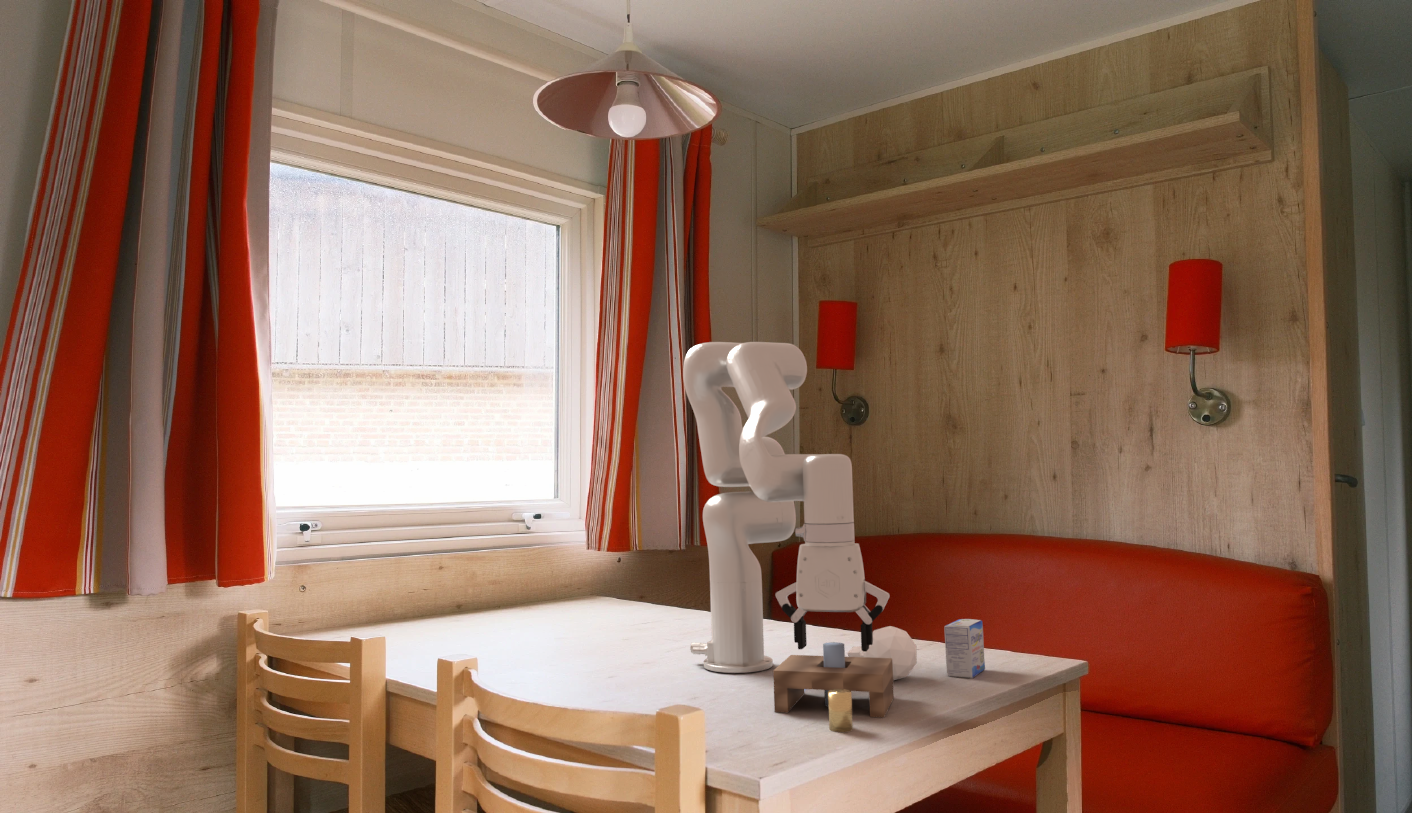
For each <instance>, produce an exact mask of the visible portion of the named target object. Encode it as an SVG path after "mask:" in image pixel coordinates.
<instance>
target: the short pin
mask: <svg viewBox="0 0 1412 813" xmlns="http://www.w3.org/2000/svg"><path fill="white" fill-rule="evenodd" d="M852 692H853V691H850V690H845V689H834V690H829V691H828V706H827V708H828V728H829V731H830V732H834V733H848V732H852V731H853V729H854V727H853V726H854V725H853V720H854V719H853V698H852V697H853V696H852V695H853V694H852Z"/></svg>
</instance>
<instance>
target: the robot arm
mask: <svg viewBox="0 0 1412 813" xmlns="http://www.w3.org/2000/svg"><path fill="white" fill-rule="evenodd" d="M682 367H683V370H682V378H683V384H684V389H685V393H686V396H687V399H688V401H689V403H690V405H691V409H692V410H693V411H692V412H693V413H694V417H695V421H696V426H697V434H698V439H699V440H698V441H699V447H700V452H701V460H702V466H703V472H704V475H705V478H706V480H707V481H708V483H709V484H711V485H713V486H716V487H719V488H720V487H721V488H723V487H724V488H736V487H737V488H739V487H740V488H742V487H743V488H744V487H749V488H750V489H751V491H732V492H730V491H729V492H722V493H718V494H715V495H713V496H712V497H710V498H708V500H707V501H706V503H705V504H704V507H703V510H702V522H703V524H702V525H703V528H704V534H705V538H706V543H707V544H706V545H707V551H708V552H707V553H708V563H709V564H708V565H709V591H710V592H709V593H710V595H709V596H710V630H711V635H710V636H711V640H709V641H707V642H706V643H704V642H703V643H702V642H691V644H690V647H689V648H690V649H689V650H690V653H691V654H693V655H704V656H705V657H706V658H705V659H704V660H703V667H704V669H706V670H708V671H712V672H716V673H725V674H727V673H728V674H743V673H744V674H745V673H755V672H762V671H765V670H768V669H770V668H772V667H773V665H774V663H773V661H774V660H773V658H772V657H769V656H767V655H765V649H764V648H765V645H764V644H765V643H764V641H765V640H764V614H763V613H764V611H763V610H764V609H763V608H764V607H763V606H764V605H763V580H762V578H763V577H762V568H761V564H760V562H759V560H758V558H757V556H756V555H755V554H754V553H753V551H752V550H751V548H750V546H749V545H753V544H764V543H766V544H767V543H776V542H782V541H786V540H788V539H790V538H791V536H792V535H793V534H794V532H795V537H800V538H802V539H803V541H804V543H801V544H799V547H798V555H797V564H796V582H794V583H792V584H790V585H788V586H786V587H784V588H782V589H781V590H779V591H776V592H775V595H774V596H775V598H776V599H777V602H778V605H779V606H780V607H781V610H782V611H783V612H784V614H785V615H786V616H788V617H789V619H790V620H791V622H792V623H793V638H794V639H793V640H794V643H797V649H798V650H803V649H804V648H805V647H807V621H806V620H805V619H804V616H805V615H806V613H807V612H814V613H815V612H818V613H819V612H820V613H822V612H823V613H825V612H826V613H828V612H829V613H856V614H857V615H858V617H859V618H860V619H861V620H862V621H861V622H862V623H861V624H860V643H861V644H860V646H861V649H862V650H863V651H867V650H868V649H869V645H872V644H873V622H874V620H876V618H878V617H879V616H880V615H881V614H882V612H883V611H884V609H885V607H886V605H887V603H888V600H889V599H890V593H889V592H887V591H885V590H883V589H881V588H879V587H877V586H876V585H873V584H872V583H870V582H869V581H866V578H865V570H864V562H863V556H862V552H861V547H860V543H857V542H856V541H855V523H854V522H855V521H854V520H855V519H854V517H855V516H854V492H853V491H854V490H853V489H854V488H853V466H852V465H853V464H852V460H851V458H850V457H849V456H848V455H846V454H842V453H826V454H825V453H823V454H818V453H816V454H815V453H810V454H809V453H806V454H805V453H804V454H803V453H795V454H793V453H792V454H791V453H789V454H788V453H787V454H786V453H785V450H784V449H783V447H782V445H781V444H780V443H779V442H778V441H777V440H776V439H774V438H772V437H769V436H768V435H771V434H773V433H774V432H776V431H778V430H780V429H781V428H783V427H785V426H786V425H787V424H788V423H789V422H790V421H791V420H792V418H793V417H794V415H795V413H796V410H797V404H796V401H795V399H794V397H793V395H792V392H791V390H795V389H797V388H800V387H801V386H802V385H803V384H804V382H805V381H806V377H807V373H808V366H807V360H806V356H804V353H803V352H802V350H801V349H800V348H799V347H798V346H796V345H795V344H793V343H787V342H765V341H749V342H748V341H747V342H730V341H729V342H727V341H709V342H702V343H699V344H696V345H693V346H692V347H690V348H689V350H688V351H687V353H686V354H685V357H684V361H683V366H682ZM722 388H734V389H735V391H736V393H737V396H738V398H739V400H740V402H741V405H742V407H743V410H744V413H745V414H746V417H747V418H748V419H747V420H746V422H745V424H744V426H743V422H742V421H743V420H742V416H741V413H740V412H741V411H740V409H739V408H738V406H737V405H736V404H735V403H734V401H733V400H732V399H731V398H730V396H729V395H728V394H726V393H725V391H723V390H722ZM798 501H799V502H803V518H804V519H803V520H804V523H803V525H802V526H800V527H796V524H797V523H796V522H797V520H796V518H797V514H796V507H795V502H798ZM855 542H856V543H855ZM794 593H795V594H796V596H795V597H796V598H795V599H796V600H795V601H796V606H797V607H798V608H797V609H796V607H795V606H793V604H791V603H790V600H789V598H788V597H789V595H792V594H794ZM867 593H868V594H870V595H872V596H873V597H874V598H875V597H876V600H877V602H876V604H875V606H874V607H873V609H872V610H870V609H869V608H868V607H867V606H866V603H867Z"/></svg>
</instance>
